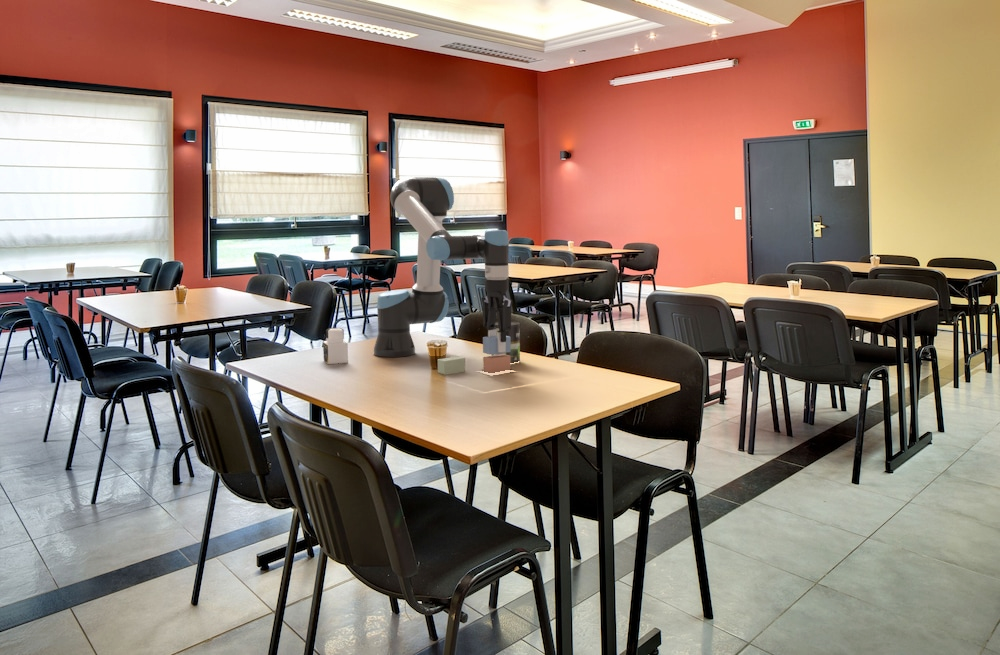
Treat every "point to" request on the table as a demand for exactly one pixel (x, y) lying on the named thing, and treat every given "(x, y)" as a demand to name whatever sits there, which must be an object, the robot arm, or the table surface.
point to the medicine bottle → (335, 347)
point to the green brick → (451, 365)
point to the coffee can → (512, 341)
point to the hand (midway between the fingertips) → (496, 350)
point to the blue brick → (494, 345)
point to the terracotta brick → (496, 363)
